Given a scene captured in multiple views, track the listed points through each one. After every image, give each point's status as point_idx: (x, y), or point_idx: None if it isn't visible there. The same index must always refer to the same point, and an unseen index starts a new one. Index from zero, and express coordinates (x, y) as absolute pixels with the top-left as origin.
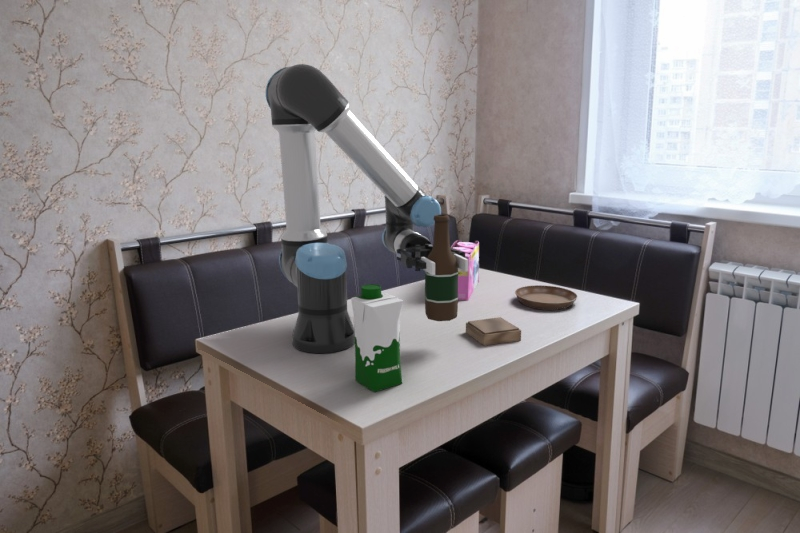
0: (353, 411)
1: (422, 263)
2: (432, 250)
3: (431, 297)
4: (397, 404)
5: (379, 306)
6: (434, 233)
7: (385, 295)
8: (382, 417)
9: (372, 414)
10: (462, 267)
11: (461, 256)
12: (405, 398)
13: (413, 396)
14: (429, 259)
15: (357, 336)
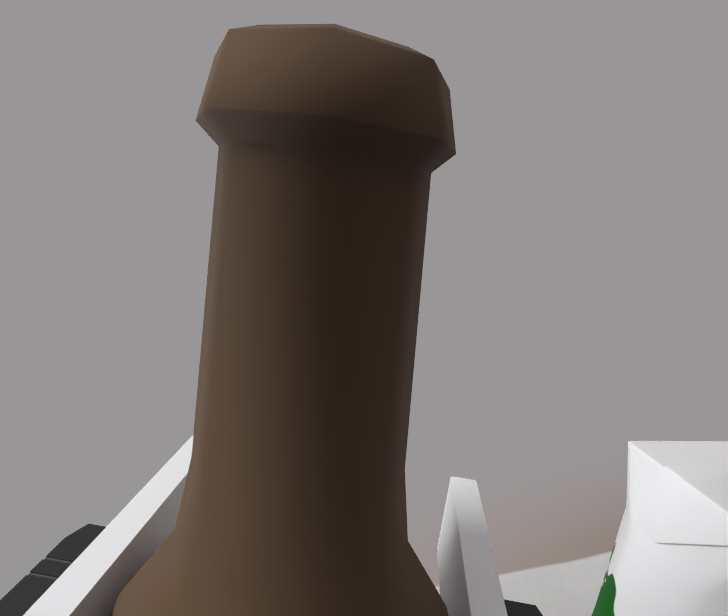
0: None
1: (532, 609)
2: (393, 588)
3: None
4: (579, 580)
5: (710, 442)
6: (404, 359)
7: (725, 495)
8: (610, 552)
9: None
10: None
11: (128, 508)
12: (558, 595)
13: (537, 594)
14: (447, 611)
15: None
